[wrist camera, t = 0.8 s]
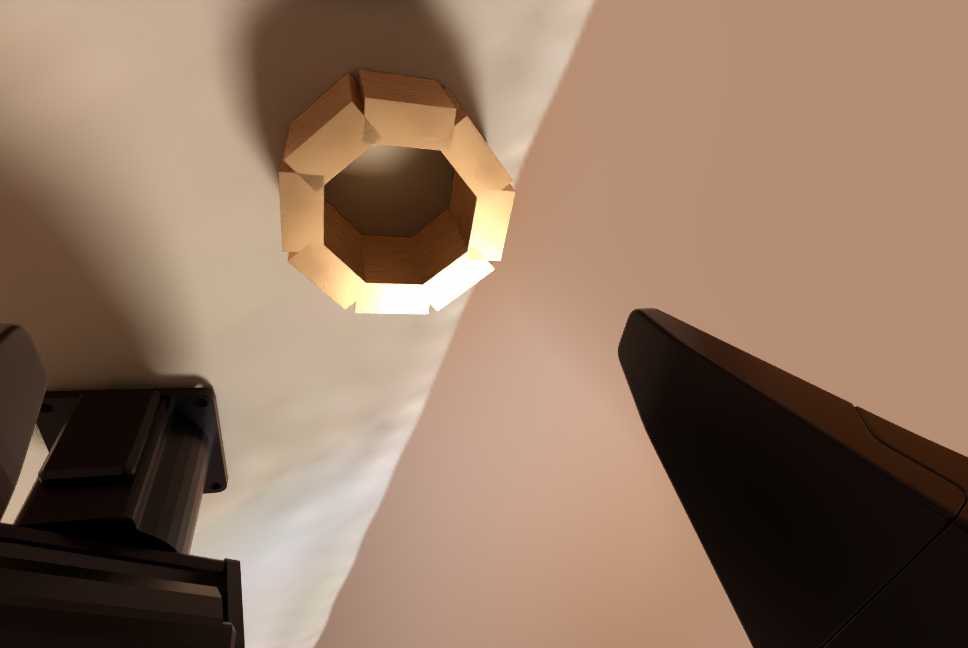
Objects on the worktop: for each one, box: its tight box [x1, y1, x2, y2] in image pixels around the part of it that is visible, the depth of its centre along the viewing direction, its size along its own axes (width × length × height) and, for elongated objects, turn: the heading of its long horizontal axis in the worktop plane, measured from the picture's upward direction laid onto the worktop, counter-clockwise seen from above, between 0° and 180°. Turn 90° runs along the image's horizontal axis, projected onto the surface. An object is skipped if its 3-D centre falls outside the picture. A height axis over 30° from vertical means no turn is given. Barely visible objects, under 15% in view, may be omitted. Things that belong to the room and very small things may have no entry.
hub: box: [279, 69, 515, 314], centre depth 18 cm, size 7×7×4 cm
